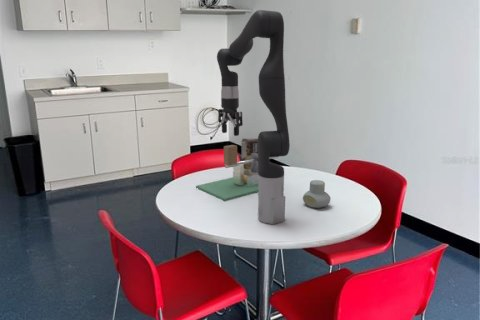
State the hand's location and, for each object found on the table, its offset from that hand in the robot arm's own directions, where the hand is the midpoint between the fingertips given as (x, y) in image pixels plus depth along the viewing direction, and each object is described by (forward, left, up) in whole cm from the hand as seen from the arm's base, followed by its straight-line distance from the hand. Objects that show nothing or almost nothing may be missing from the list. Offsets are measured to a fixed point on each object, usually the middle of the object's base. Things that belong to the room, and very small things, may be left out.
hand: (230, 134), depth 186 cm
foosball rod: (0, -13, -24) cm, 27 cm away
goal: (0, -9, -24) cm, 26 cm away
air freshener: (-38, -15, -25) cm, 48 cm away
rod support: (0, -16, -25) cm, 30 cm away
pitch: (0, -1, -25) cm, 25 cm away
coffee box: (+18, -27, -25) cm, 41 cm away
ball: (0, -8, -22) cm, 24 cm away
